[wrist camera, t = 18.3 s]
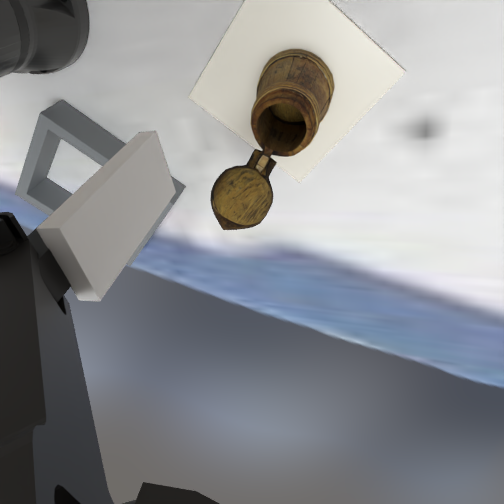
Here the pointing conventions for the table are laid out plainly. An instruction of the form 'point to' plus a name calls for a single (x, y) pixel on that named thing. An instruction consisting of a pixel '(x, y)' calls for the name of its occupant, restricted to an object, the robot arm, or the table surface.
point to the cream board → (295, 37)
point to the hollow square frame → (85, 140)
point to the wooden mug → (274, 133)
